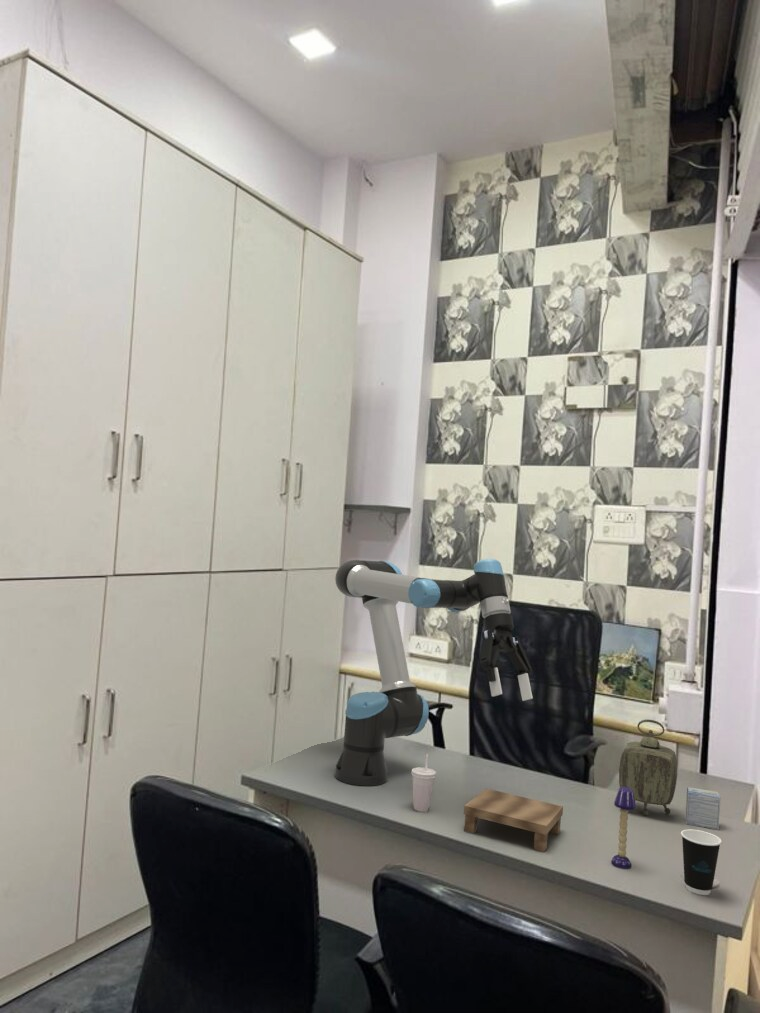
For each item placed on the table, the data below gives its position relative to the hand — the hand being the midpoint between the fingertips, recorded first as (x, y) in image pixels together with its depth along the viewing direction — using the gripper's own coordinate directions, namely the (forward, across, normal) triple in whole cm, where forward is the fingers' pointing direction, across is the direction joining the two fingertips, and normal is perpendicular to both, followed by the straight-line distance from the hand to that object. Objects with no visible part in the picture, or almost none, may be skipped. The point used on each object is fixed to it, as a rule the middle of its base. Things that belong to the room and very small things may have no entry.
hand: (512, 697), depth 186 cm
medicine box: (+34, +52, -17) cm, 64 cm away
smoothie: (+22, -4, +31) cm, 38 cm away
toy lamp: (+40, +9, -14) cm, 43 cm away
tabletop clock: (+29, +47, -5) cm, 55 cm away
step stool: (+30, +4, +10) cm, 32 cm away
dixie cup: (+46, +12, -29) cm, 56 cm away
